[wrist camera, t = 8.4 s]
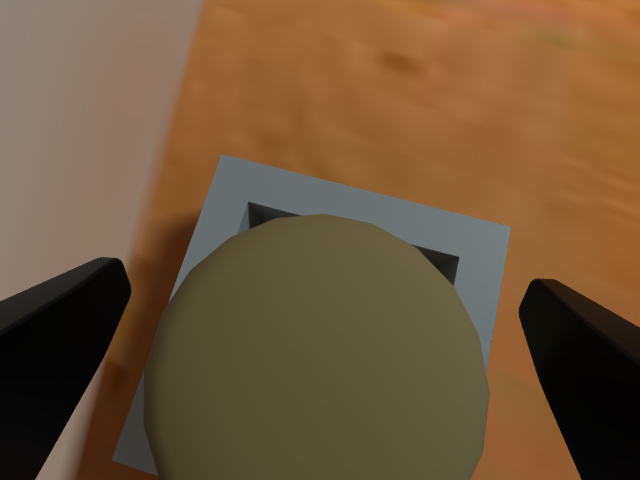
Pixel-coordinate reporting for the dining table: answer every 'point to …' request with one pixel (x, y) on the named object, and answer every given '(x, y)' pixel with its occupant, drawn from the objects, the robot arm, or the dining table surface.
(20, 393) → the robot arm
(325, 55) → the dining table surface
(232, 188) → the box
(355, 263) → the cork
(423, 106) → the dining table surface
